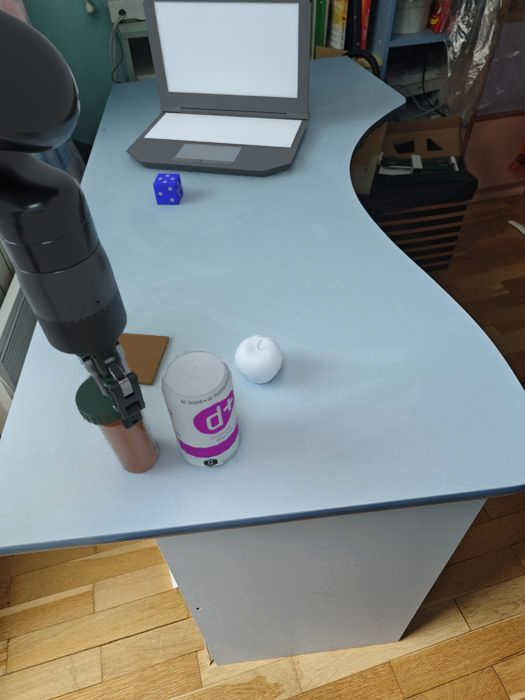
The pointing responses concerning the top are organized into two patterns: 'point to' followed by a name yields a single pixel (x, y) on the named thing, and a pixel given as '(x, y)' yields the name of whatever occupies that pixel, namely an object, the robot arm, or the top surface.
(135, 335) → the coaster
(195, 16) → the laptop
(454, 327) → the top surface
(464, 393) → the top surface
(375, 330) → the top surface
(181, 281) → the top surface
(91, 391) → the lid
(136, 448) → the jar
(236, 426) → the supplement can
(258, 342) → the plain white apple
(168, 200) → the die
